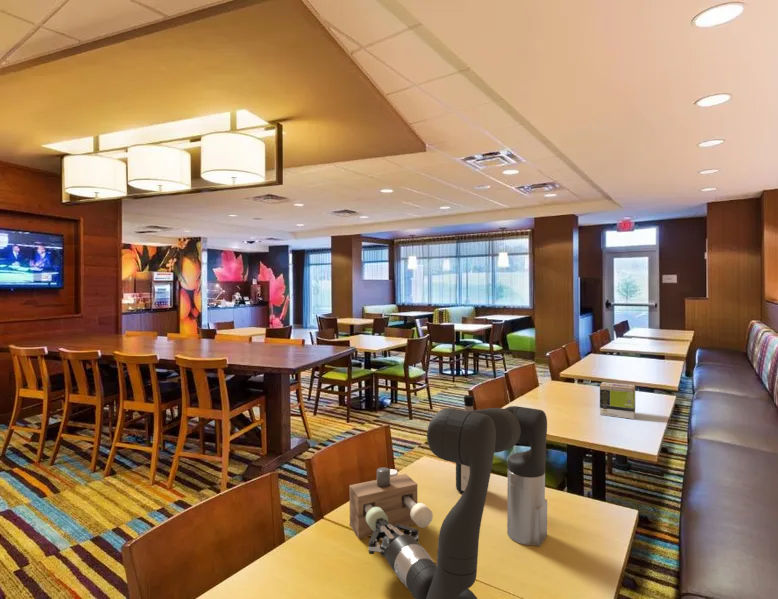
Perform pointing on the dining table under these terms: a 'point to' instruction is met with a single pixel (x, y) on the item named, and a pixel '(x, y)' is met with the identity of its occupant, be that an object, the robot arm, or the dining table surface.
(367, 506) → the knob sage
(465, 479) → the wine bottle
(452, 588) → the robot arm
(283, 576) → the dining table surface
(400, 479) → the brown wooden block
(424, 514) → the knob cream
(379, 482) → the dark grey cylinder
